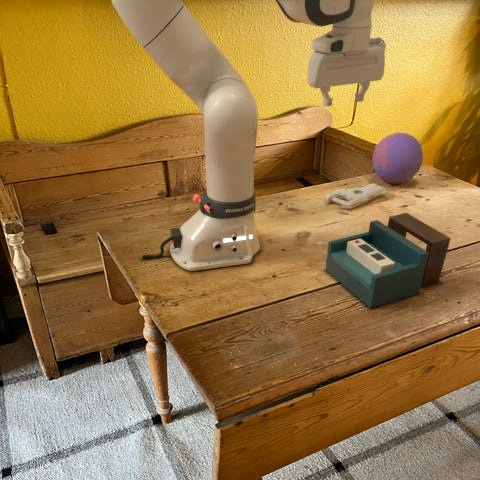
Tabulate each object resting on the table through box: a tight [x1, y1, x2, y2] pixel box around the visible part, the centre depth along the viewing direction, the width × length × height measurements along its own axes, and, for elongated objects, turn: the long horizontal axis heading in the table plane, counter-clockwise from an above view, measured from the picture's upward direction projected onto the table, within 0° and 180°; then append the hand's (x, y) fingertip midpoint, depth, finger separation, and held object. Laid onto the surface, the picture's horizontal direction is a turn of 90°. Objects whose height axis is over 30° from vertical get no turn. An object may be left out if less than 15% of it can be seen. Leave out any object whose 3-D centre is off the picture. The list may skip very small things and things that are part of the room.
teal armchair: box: [325, 219, 429, 309], centre depth 109 cm, size 13×17×10 cm
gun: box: [325, 182, 388, 210], centre depth 147 cm, size 18×3×10 cm
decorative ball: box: [371, 132, 424, 185], centre depth 154 cm, size 15×15×15 cm
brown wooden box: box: [386, 212, 452, 288], centre depth 113 cm, size 5×14×11 cm, turn 25°
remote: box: [346, 239, 395, 274], centre depth 108 cm, size 4×12×3 cm, turn 25°
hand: (343, 103), depth 124 cm, fingers open, 8 cm apart
